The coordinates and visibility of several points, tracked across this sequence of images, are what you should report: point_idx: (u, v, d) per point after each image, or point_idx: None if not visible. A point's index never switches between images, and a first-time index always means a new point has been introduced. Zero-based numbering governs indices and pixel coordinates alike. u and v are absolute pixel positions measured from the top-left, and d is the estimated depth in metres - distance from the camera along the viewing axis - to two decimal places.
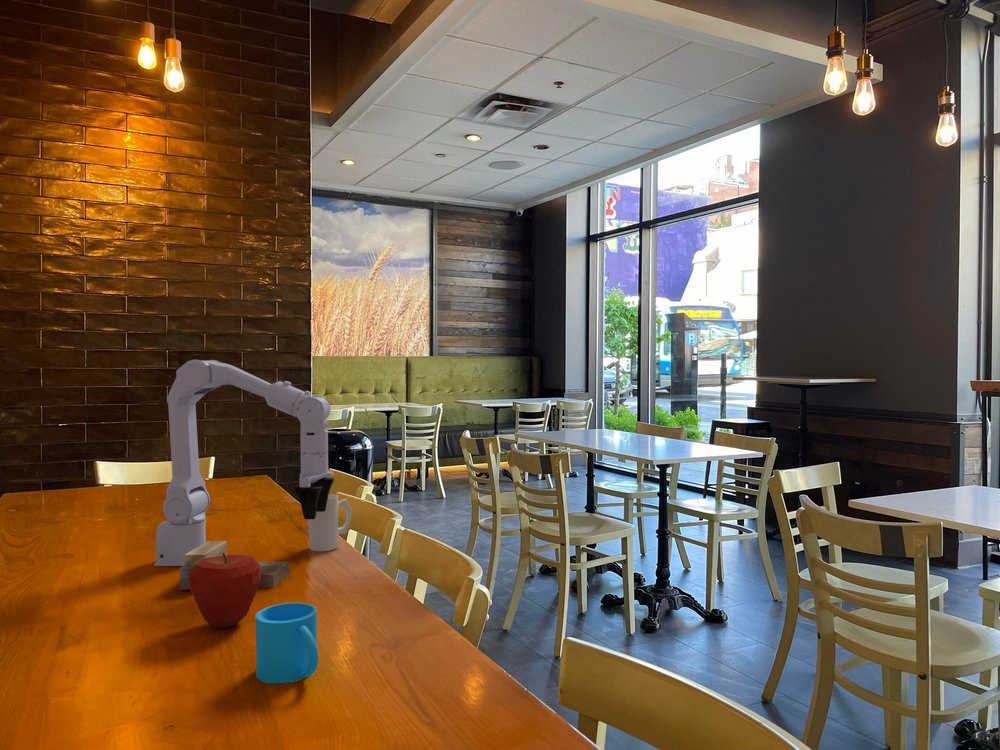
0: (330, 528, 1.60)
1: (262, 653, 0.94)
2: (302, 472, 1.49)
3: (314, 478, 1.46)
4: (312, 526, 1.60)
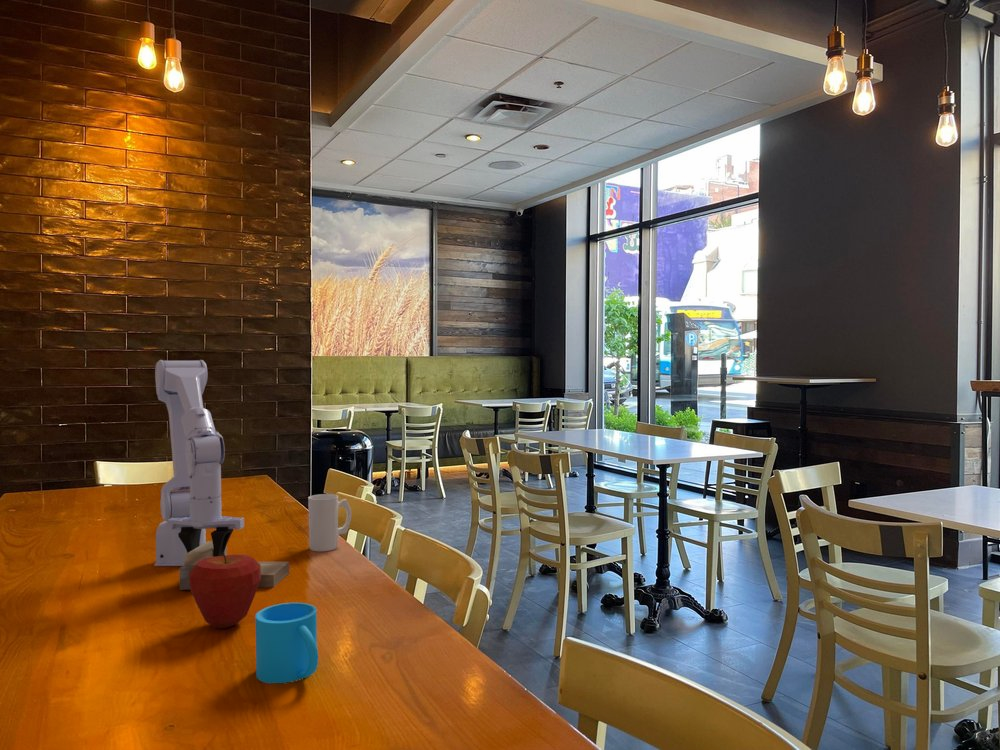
0: (330, 528, 1.60)
1: (262, 653, 0.94)
2: None
3: (177, 522, 1.38)
4: (312, 526, 1.60)
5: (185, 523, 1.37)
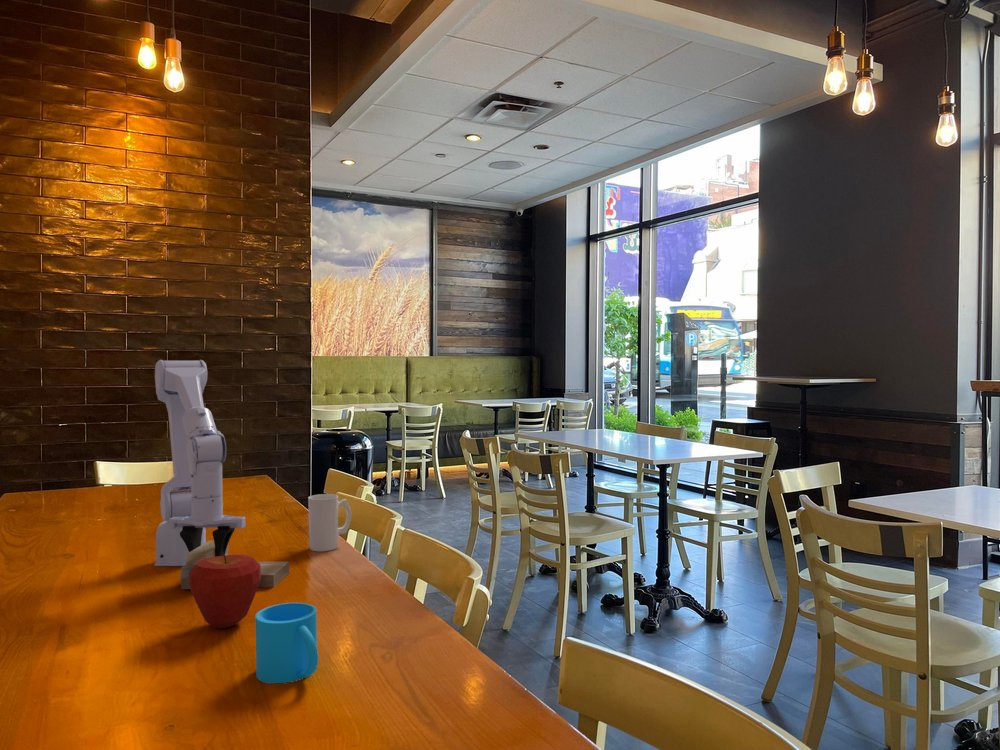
0: (330, 528, 1.60)
1: (262, 653, 0.94)
2: None
3: (179, 521, 1.38)
4: (312, 526, 1.60)
5: (186, 522, 1.37)
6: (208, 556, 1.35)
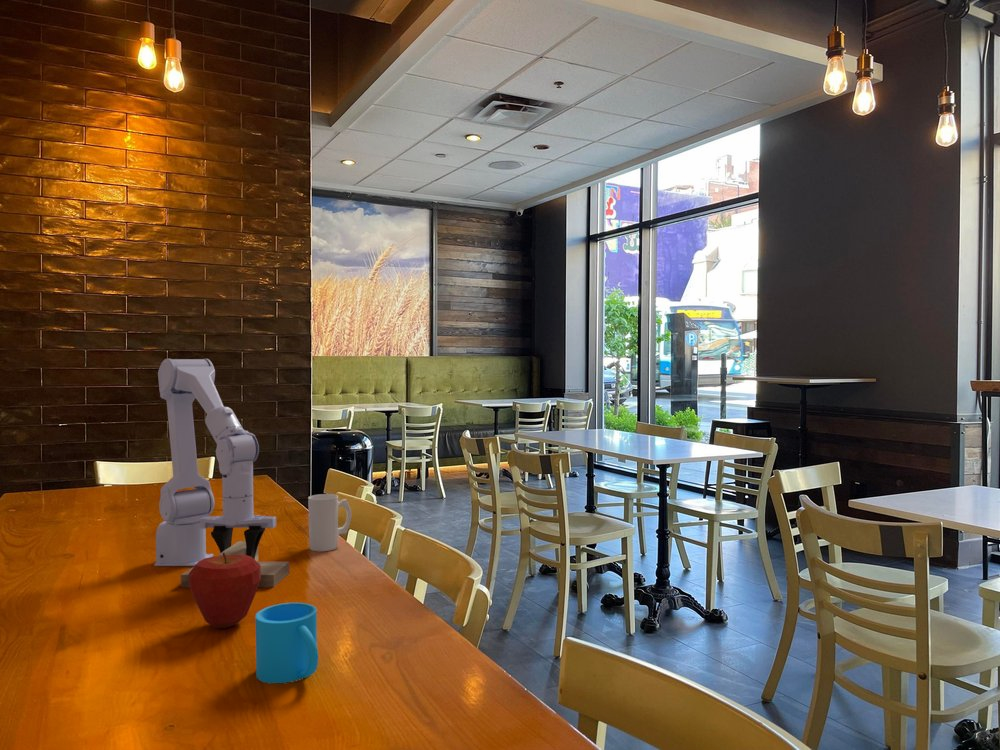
0: (330, 528, 1.60)
1: (262, 653, 0.94)
2: None
3: (210, 521, 1.37)
4: (312, 526, 1.60)
5: (218, 522, 1.37)
6: None
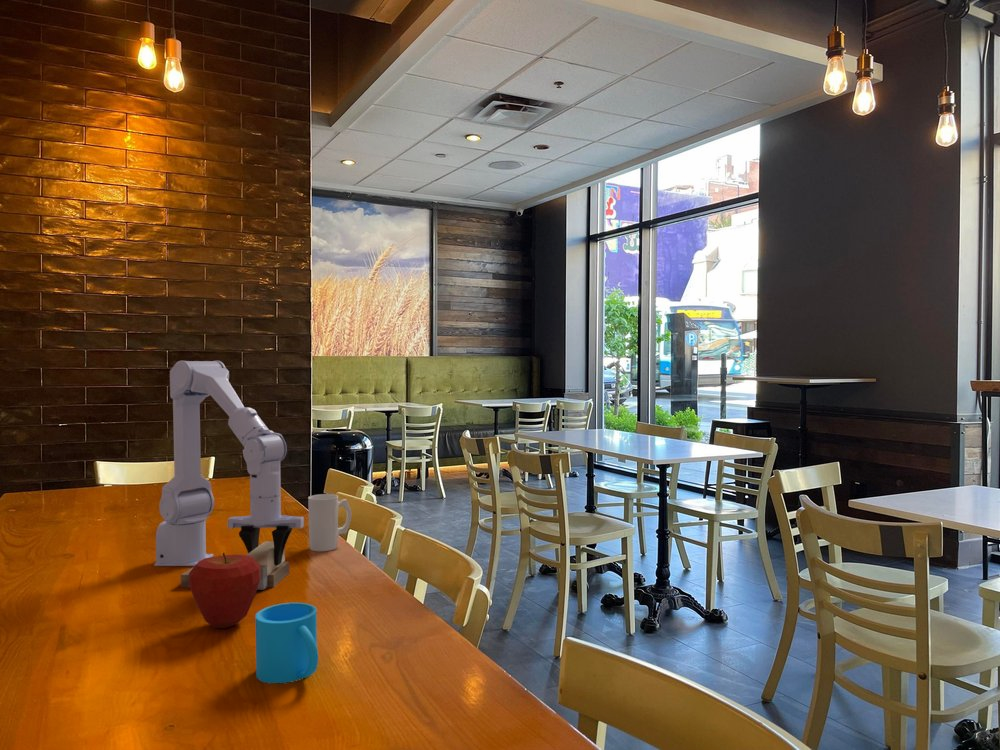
0: (330, 528, 1.60)
1: (262, 653, 0.94)
2: None
3: (238, 521, 1.37)
4: (312, 526, 1.60)
5: (246, 522, 1.36)
6: (268, 557, 1.34)
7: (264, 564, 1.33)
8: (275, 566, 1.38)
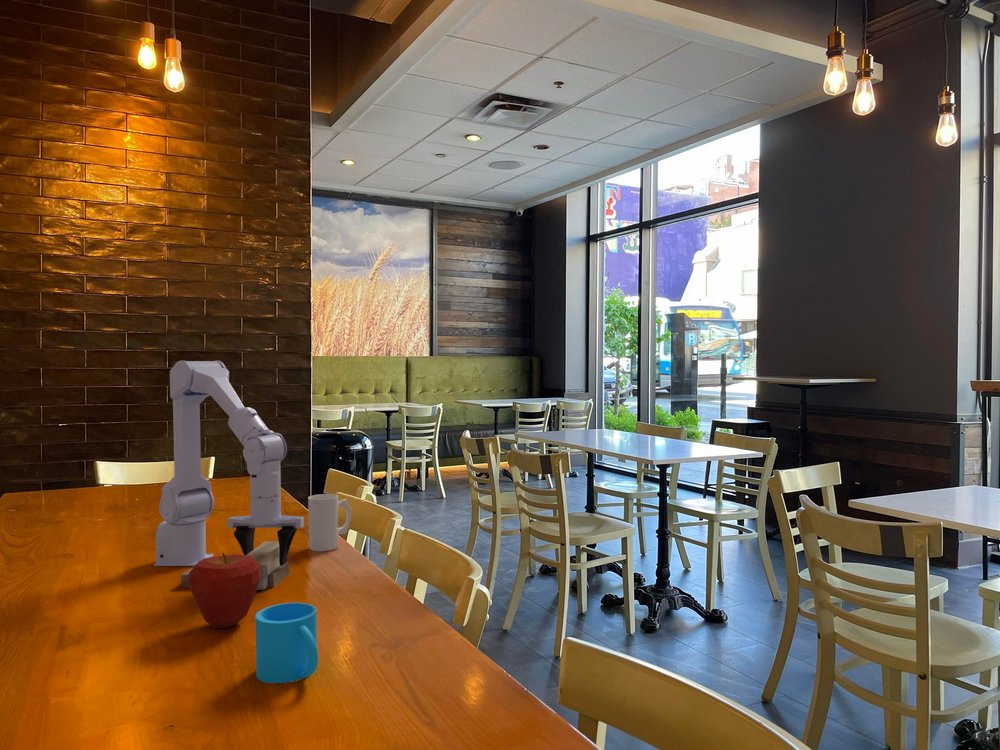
0: (330, 528, 1.60)
1: (262, 653, 0.94)
2: None
3: (238, 521, 1.37)
4: (312, 526, 1.60)
5: (246, 522, 1.36)
6: (268, 557, 1.34)
7: (264, 564, 1.33)
8: (275, 566, 1.38)
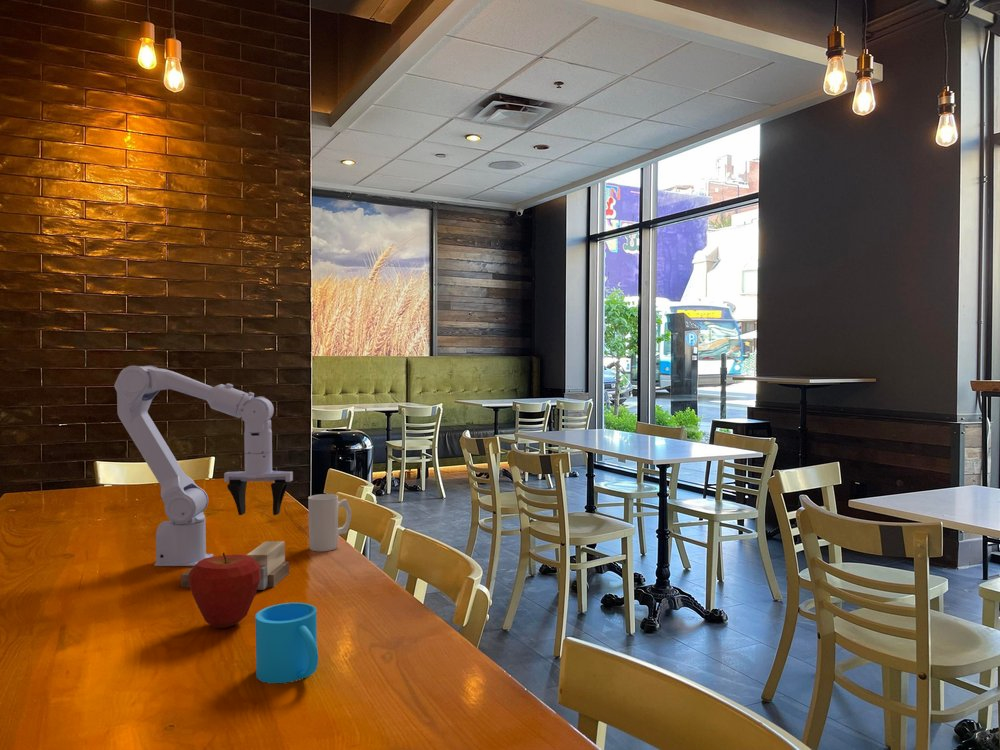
0: (330, 528, 1.60)
1: (262, 653, 0.94)
2: None
3: (233, 475, 1.52)
4: (312, 526, 1.60)
5: (240, 475, 1.52)
6: (268, 557, 1.34)
7: (264, 564, 1.33)
8: (275, 566, 1.38)
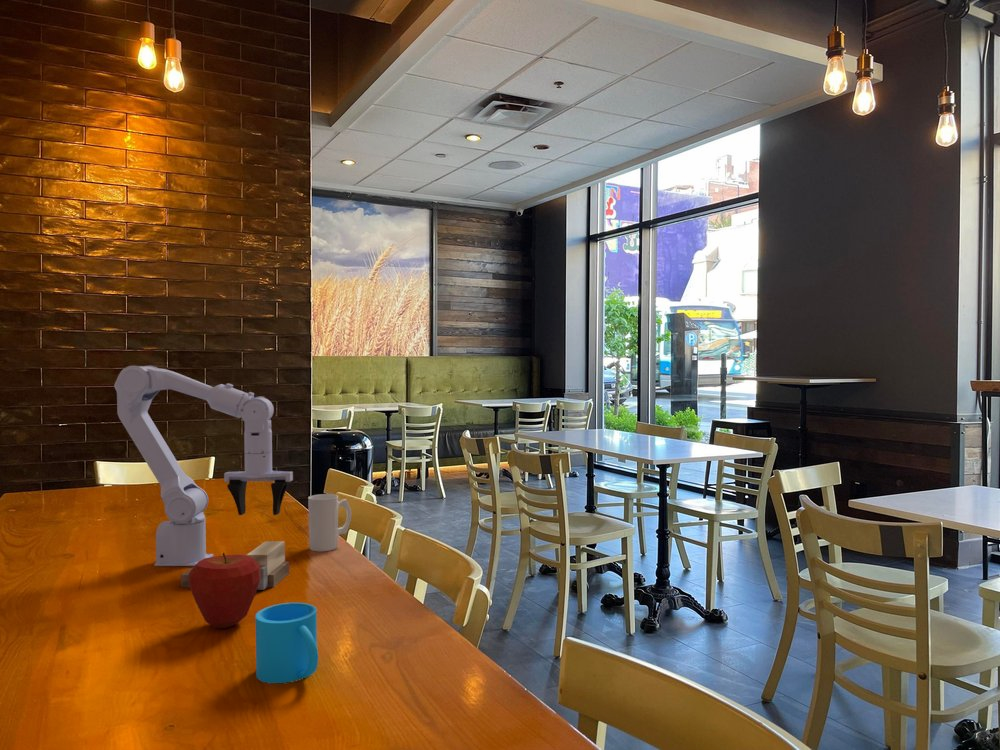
0: (330, 528, 1.60)
1: (262, 653, 0.94)
2: None
3: (233, 475, 1.52)
4: (312, 526, 1.60)
5: (240, 475, 1.52)
6: (268, 557, 1.34)
7: (264, 564, 1.33)
8: (275, 566, 1.38)
